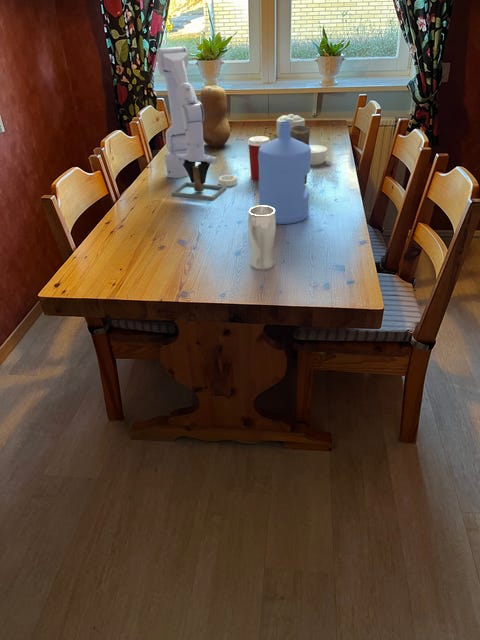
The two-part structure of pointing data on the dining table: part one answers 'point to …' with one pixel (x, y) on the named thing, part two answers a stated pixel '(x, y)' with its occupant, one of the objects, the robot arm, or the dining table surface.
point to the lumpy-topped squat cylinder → (291, 118)
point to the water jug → (284, 176)
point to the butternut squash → (215, 116)
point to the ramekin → (318, 154)
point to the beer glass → (262, 236)
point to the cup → (227, 180)
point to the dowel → (197, 179)
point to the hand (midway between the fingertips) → (198, 182)
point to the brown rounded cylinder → (301, 136)
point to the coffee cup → (255, 154)
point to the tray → (177, 193)
